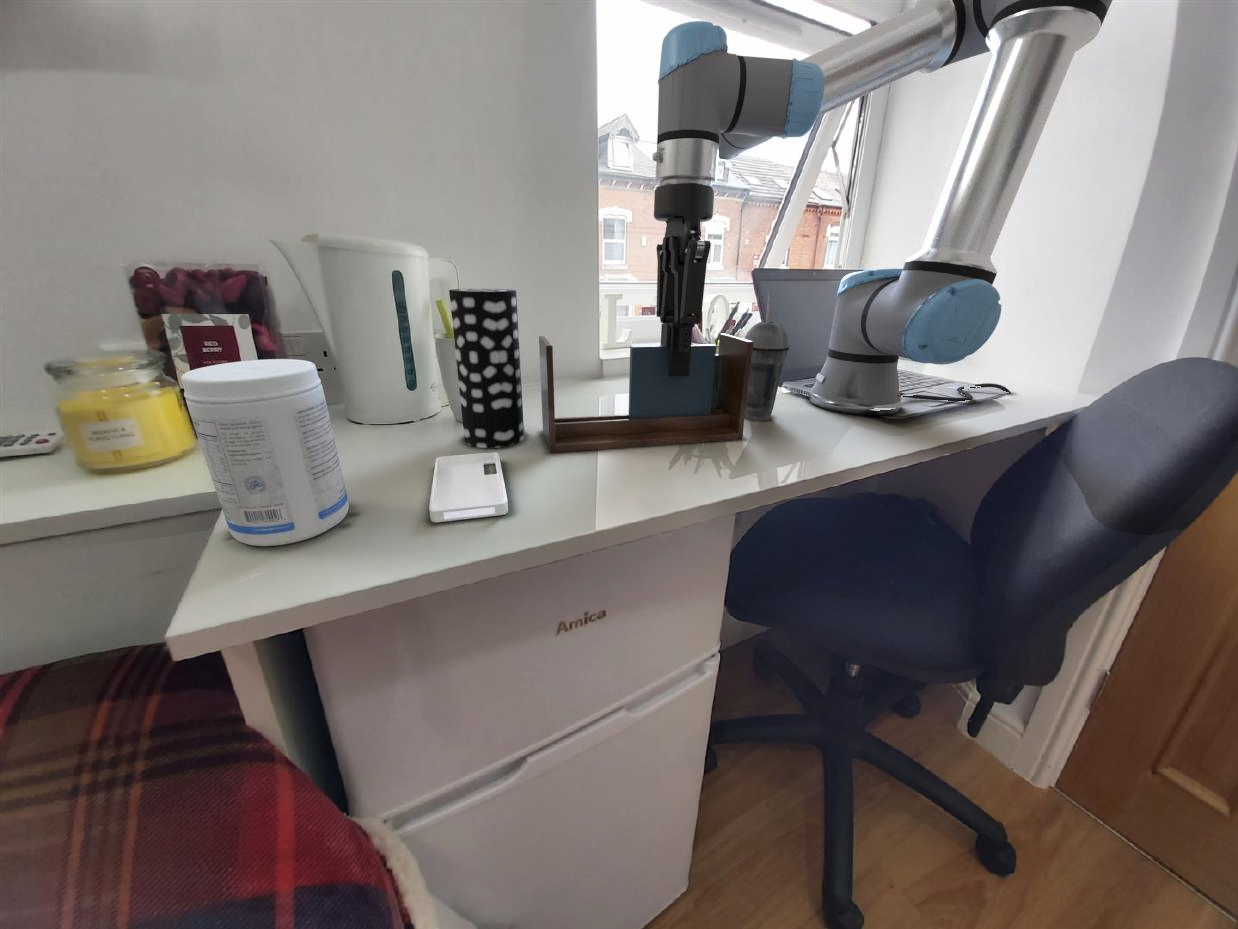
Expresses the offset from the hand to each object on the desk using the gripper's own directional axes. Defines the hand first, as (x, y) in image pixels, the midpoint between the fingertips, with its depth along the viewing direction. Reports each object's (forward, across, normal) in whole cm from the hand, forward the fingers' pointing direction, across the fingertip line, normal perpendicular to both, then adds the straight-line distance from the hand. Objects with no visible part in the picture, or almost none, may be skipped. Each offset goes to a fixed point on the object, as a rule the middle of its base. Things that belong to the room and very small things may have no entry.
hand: (673, 372), depth 71 cm
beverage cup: (+9, -6, +18) cm, 21 cm away
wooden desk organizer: (+9, 0, -4) cm, 10 cm away
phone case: (+9, +14, -28) cm, 33 cm away
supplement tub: (+9, +19, -44) cm, 49 cm away
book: (+8, 0, 0) cm, 8 cm away
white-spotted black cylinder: (+9, -3, -26) cm, 27 cm away
